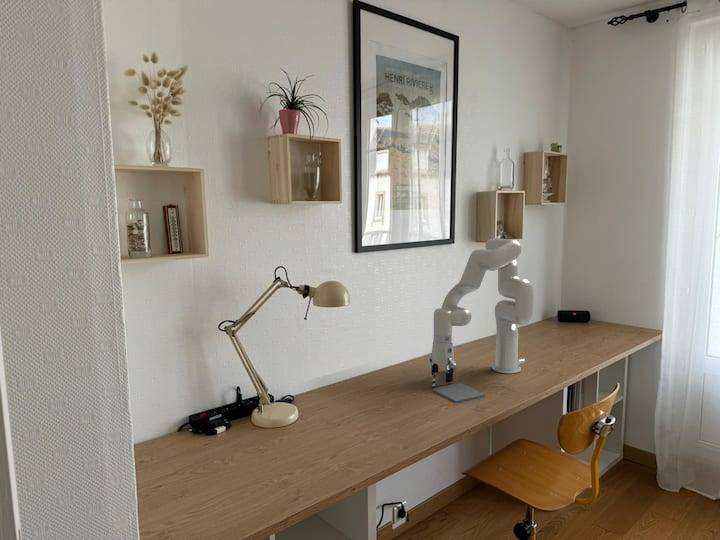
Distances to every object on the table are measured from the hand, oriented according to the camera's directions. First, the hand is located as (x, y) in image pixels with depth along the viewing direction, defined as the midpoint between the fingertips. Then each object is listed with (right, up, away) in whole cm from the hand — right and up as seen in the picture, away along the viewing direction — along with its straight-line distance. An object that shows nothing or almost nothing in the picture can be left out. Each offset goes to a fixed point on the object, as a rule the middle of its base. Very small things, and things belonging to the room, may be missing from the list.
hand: (441, 378), depth 211 cm
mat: (+4, -3, -12) cm, 13 cm away
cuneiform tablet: (0, -3, -2) cm, 3 cm away
